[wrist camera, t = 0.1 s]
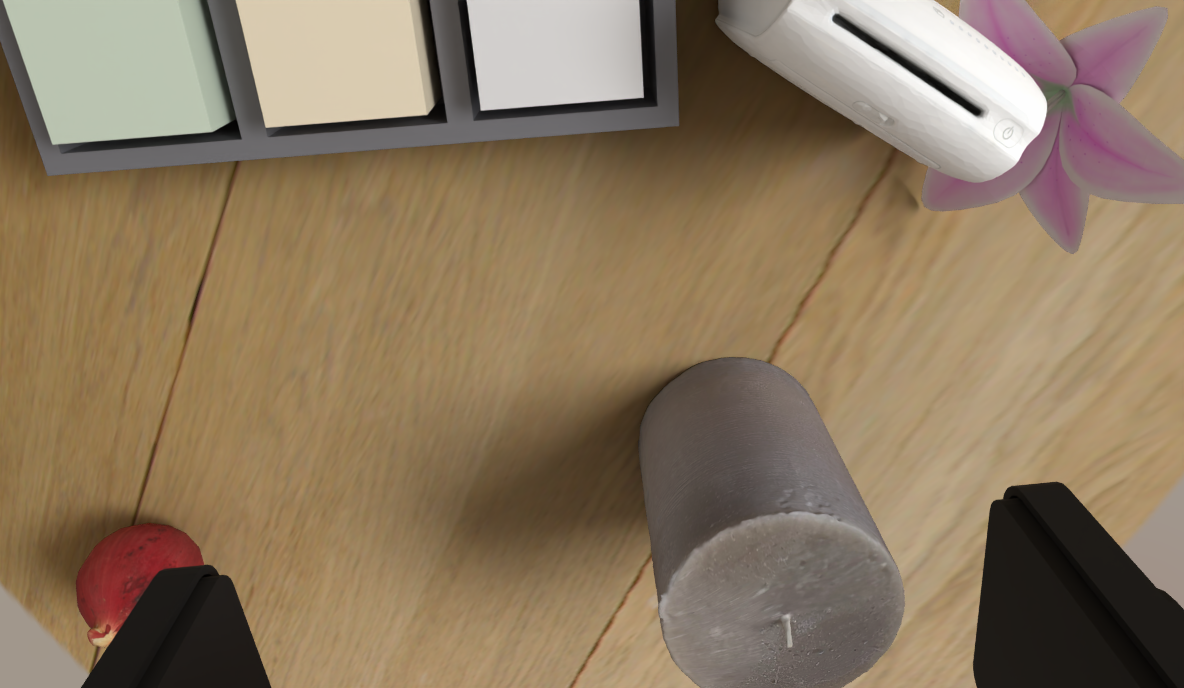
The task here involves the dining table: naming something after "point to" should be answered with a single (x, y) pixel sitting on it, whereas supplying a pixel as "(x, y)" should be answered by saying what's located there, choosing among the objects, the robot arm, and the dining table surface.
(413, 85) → the key sand
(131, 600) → the onion
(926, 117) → the photo printer
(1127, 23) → the lily
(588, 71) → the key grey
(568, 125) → the grey compartment tray
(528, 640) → the dining table surface
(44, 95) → the key sage
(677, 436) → the pillar candle
